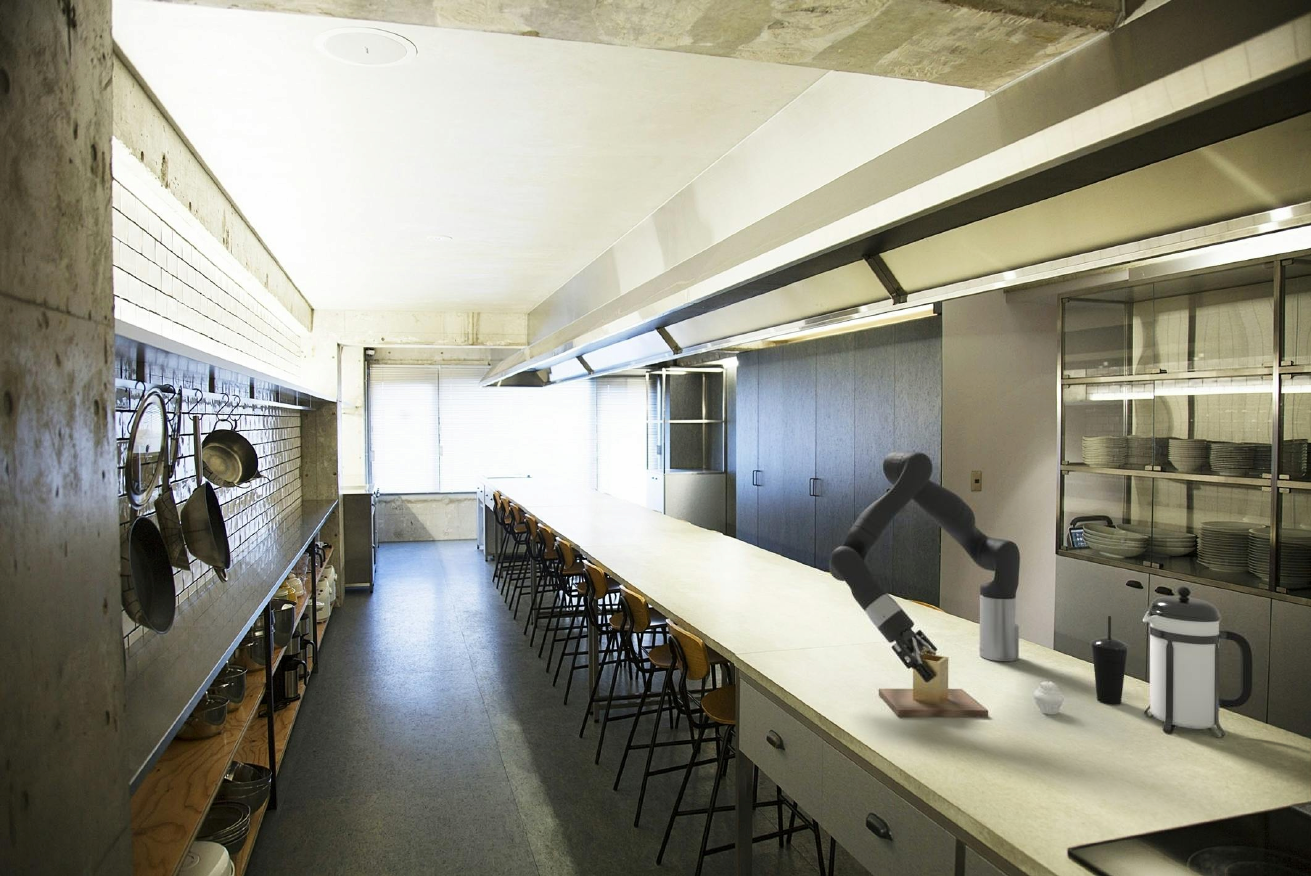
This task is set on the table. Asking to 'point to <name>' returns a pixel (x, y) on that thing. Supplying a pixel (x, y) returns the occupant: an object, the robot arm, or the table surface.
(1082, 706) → the table surface
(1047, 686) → the muffin
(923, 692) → the wooden sleeve
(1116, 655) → the drinking cup
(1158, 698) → the coffee press
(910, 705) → the post board
